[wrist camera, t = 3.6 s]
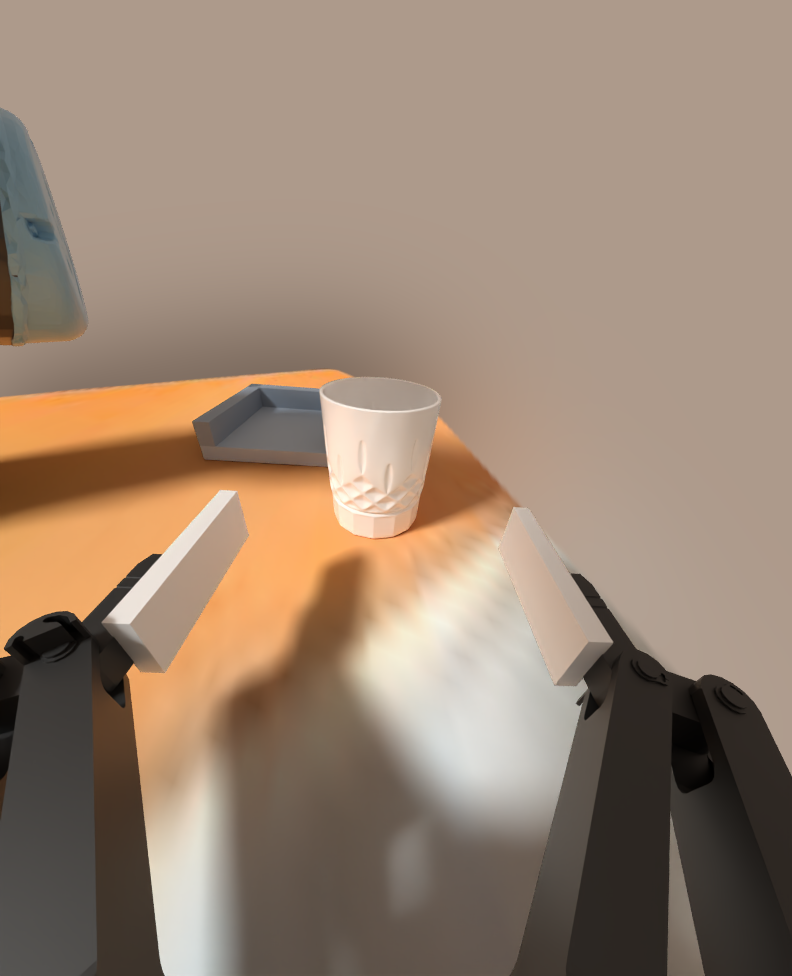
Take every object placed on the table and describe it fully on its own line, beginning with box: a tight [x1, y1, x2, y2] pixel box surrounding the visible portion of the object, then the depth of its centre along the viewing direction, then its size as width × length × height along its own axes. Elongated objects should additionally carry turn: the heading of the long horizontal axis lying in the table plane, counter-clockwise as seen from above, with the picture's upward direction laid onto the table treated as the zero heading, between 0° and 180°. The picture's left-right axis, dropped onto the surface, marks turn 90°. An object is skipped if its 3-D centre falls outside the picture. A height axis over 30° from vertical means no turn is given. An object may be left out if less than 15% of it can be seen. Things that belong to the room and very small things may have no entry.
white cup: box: [319, 377, 441, 539], centre depth 22 cm, size 8×8×10 cm
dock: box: [192, 384, 328, 467], centre depth 35 cm, size 14×14×4 cm
